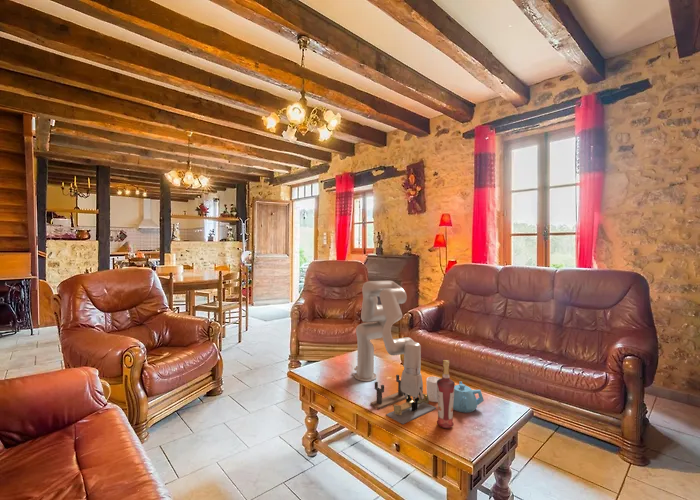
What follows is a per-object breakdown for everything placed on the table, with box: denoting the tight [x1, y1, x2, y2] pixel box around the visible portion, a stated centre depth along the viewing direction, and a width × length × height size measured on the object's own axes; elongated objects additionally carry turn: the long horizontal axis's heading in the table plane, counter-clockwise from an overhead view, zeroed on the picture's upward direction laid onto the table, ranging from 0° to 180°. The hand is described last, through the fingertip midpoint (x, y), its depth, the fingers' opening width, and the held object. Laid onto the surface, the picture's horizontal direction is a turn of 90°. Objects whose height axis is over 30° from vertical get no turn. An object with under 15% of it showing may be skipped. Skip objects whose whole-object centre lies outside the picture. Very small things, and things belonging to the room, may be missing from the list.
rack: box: [369, 374, 406, 410], centre depth 171 cm, size 6×21×10 cm, turn 129°
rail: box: [392, 393, 430, 415], centre depth 160 cm, size 20×4×4 cm, turn 129°
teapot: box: [453, 381, 485, 414], centre depth 166 cm, size 15×15×11 cm
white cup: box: [425, 376, 441, 403], centre depth 173 cm, size 8×8×10 cm
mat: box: [386, 402, 437, 425], centre depth 160 cm, size 10×23×1 cm, turn 129°
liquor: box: [436, 359, 455, 430], centre depth 148 cm, size 7×7×28 cm
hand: (411, 408), depth 160 cm, fingers closed on rail, 2 cm apart
